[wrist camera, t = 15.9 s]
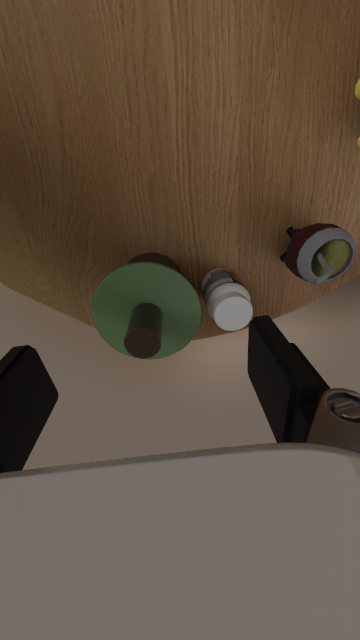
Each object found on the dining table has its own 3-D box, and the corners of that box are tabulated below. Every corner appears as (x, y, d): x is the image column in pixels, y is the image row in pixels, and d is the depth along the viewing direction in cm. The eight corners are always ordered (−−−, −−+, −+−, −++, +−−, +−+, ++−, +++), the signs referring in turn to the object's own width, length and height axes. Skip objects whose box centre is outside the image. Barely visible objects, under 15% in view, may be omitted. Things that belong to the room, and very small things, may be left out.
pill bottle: (242, 291, 38) (264, 322, 29) (209, 307, 39) (221, 341, 30) (229, 259, 35) (248, 284, 27) (194, 277, 36) (202, 306, 28)
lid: (71, 304, 28) (45, 336, 22) (153, 234, 24) (147, 250, 19) (144, 368, 33) (138, 407, 27) (220, 318, 30) (232, 351, 24)
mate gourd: (332, 245, 35) (429, 282, 22) (284, 281, 37) (347, 333, 24) (308, 204, 32) (404, 217, 19) (258, 245, 34) (313, 282, 21)
